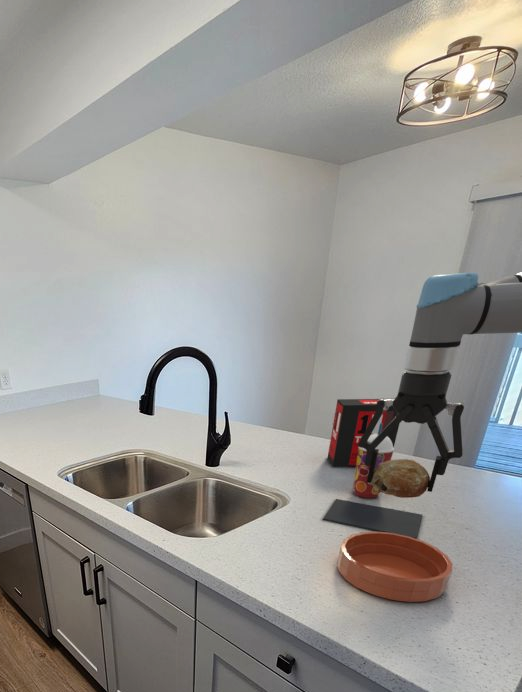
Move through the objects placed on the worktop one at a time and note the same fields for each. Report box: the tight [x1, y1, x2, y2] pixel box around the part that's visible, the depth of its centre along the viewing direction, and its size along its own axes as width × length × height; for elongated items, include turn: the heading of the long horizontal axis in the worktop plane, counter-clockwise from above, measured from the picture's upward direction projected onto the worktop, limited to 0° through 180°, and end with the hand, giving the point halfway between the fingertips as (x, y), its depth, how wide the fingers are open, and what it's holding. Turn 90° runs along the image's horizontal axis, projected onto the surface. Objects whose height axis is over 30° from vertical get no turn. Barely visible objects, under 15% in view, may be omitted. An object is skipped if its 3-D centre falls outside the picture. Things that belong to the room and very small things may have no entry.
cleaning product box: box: [327, 398, 401, 469], centre depth 140 cm, size 16×9×20 cm, turn 77°
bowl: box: [336, 531, 454, 603], centre depth 86 cm, size 19×19×5 cm
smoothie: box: [352, 423, 395, 499], centre depth 117 cm, size 8×8×20 cm
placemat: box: [322, 498, 423, 539], centre depth 109 cm, size 20×14×1 cm
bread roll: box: [372, 458, 431, 499], centre depth 88 cm, size 10×10×8 cm
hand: (398, 484), depth 89 cm, fingers closed on bread roll, 10 cm apart
